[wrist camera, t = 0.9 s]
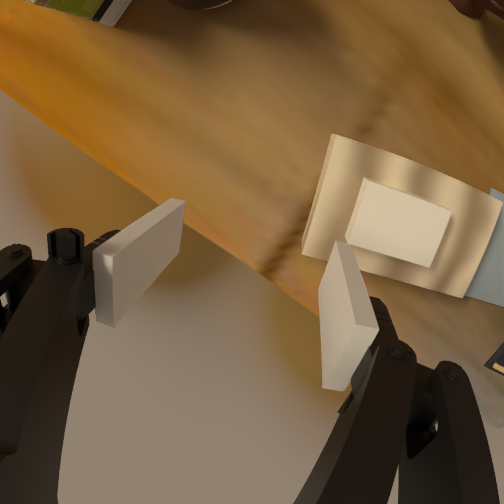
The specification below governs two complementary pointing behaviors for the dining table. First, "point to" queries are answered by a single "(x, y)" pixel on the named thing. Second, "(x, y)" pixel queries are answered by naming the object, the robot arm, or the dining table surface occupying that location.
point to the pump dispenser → (197, 4)
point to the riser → (413, 181)
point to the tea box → (89, 8)
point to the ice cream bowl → (479, 7)
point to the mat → (491, 264)
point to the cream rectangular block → (397, 223)
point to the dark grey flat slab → (497, 361)
